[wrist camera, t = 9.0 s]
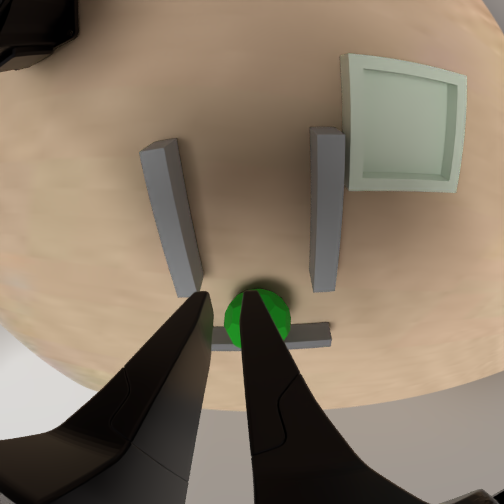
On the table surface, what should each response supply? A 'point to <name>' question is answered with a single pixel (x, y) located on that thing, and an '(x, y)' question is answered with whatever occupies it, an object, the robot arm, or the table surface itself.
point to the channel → (184, 242)
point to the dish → (401, 125)
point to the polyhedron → (274, 306)
